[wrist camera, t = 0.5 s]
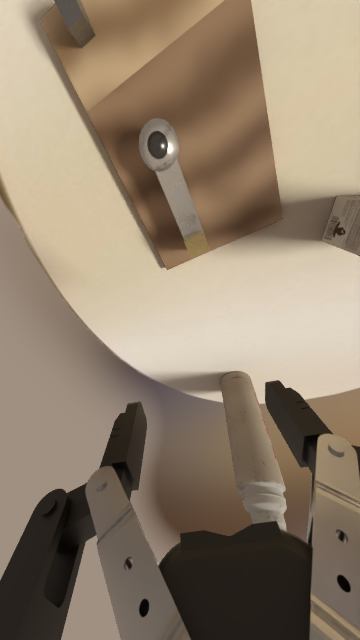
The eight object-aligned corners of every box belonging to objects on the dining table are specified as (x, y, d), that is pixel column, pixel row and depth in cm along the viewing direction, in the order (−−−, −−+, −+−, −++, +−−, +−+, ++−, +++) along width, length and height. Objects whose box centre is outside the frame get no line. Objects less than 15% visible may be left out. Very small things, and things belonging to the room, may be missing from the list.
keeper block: (62, 5, 18) (44, -21, 16) (76, -10, 18) (59, -39, 16) (82, 48, 20) (67, 29, 17) (95, 35, 19) (82, 14, 17)
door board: (47, 28, 20) (39, 20, 19) (222, -155, 15) (224, -179, 14) (167, 267, 34) (167, 270, 33) (279, 217, 29) (282, 218, 28)
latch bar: (138, 140, 23) (128, 130, 20) (170, 118, 22) (165, 103, 18) (186, 251, 31) (185, 260, 27) (212, 239, 29) (215, 247, 26)
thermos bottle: (254, 372, 48) (313, 539, 25) (245, 391, 53) (288, 547, 30) (223, 369, 48) (254, 534, 25) (217, 388, 53) (238, 543, 30)
